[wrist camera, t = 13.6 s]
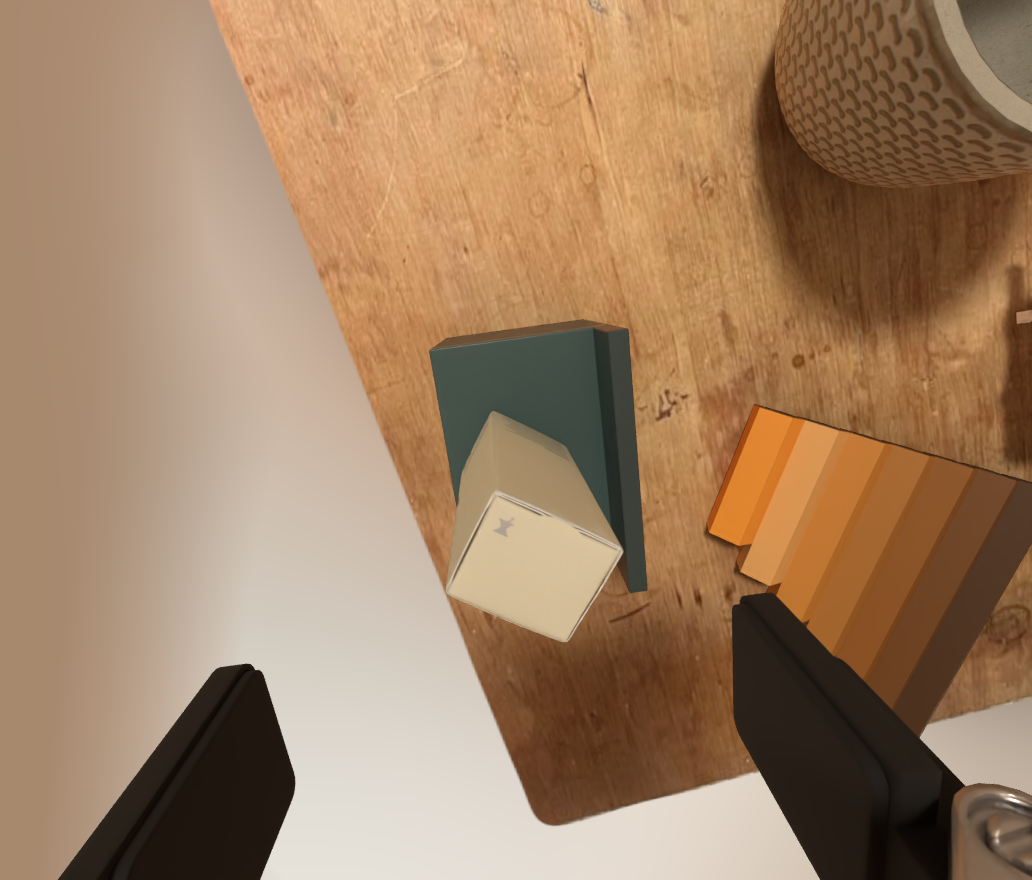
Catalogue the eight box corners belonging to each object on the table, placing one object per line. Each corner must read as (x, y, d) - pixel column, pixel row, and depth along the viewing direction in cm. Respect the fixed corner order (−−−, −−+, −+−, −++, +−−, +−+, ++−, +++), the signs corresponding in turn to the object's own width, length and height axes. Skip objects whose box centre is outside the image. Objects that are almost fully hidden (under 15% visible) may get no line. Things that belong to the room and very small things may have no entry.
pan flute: (893, 732, 47) (1033, 482, 41) (923, 764, 44) (1079, 498, 38) (637, 676, 45) (746, 401, 39) (648, 705, 41) (769, 411, 35)
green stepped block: (475, 518, 40) (464, 615, 28) (445, 338, 37) (417, 357, 24) (601, 501, 40) (647, 591, 28) (584, 319, 37) (628, 328, 24)
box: (459, 473, 30) (431, 594, 18) (492, 406, 29) (488, 484, 17) (539, 510, 31) (567, 652, 18) (575, 446, 30) (629, 550, 17)
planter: (1018, 139, 35) (1438, 8, 19) (776, 263, 36) (983, 235, 21) (953, -154, 30) (1425, -627, 15) (683, 1, 32) (855, -280, 16)
